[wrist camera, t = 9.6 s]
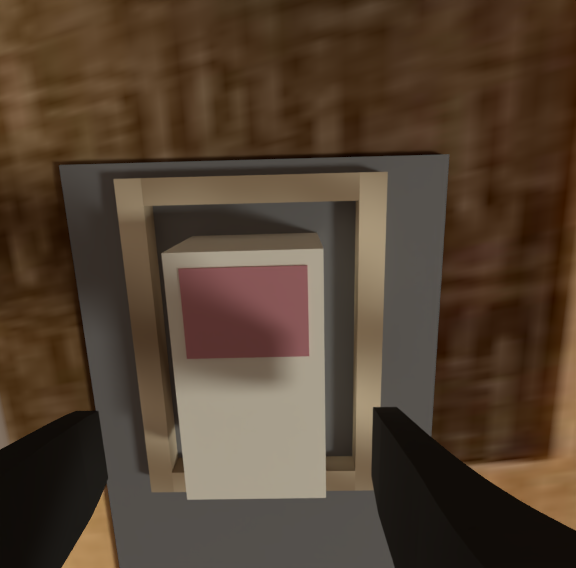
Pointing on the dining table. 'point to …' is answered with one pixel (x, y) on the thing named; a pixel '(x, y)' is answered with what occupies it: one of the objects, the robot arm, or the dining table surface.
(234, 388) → the card box
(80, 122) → the dining table surface
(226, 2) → the dining table surface
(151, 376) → the frame
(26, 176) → the dining table surface
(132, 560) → the mat
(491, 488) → the robot arm
